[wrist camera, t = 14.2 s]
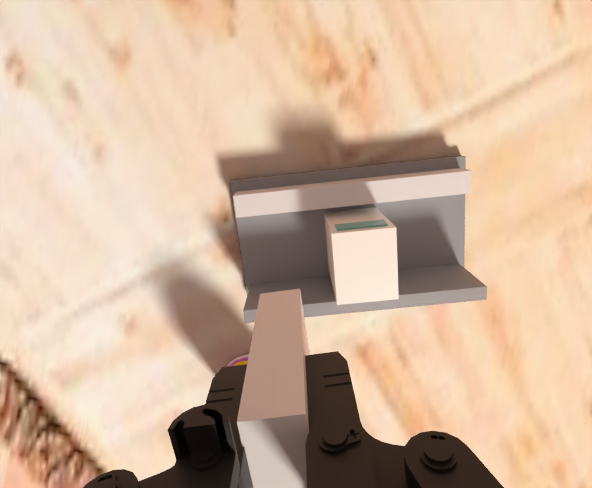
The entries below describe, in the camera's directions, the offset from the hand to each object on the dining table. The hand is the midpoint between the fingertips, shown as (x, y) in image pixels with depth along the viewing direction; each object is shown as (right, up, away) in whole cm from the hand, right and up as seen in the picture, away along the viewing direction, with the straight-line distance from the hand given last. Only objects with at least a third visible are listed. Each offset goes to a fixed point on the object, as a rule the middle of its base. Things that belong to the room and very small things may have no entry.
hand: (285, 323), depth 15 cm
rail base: (+6, +5, +25) cm, 26 cm away
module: (+6, +3, +24) cm, 25 cm away
